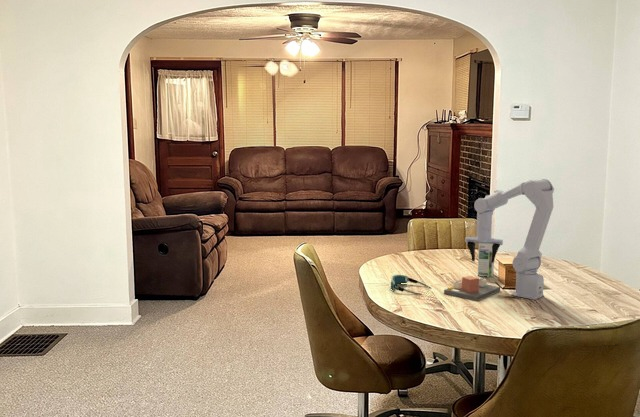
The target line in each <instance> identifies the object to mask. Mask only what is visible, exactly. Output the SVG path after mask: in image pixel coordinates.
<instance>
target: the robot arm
mask: <svg viewBox="0 0 640 417" xmlns="http://www.w3.org/2000/svg"><path fill="white" fill-rule="evenodd" d="M554 192H555V188H554V186H553V184H552V182H551V181H550V179H549V180H548V179H546V178H541V179H536V180H534V179H531V180H526V181H523V182H521V183H519V184H517V185H515V186H513V187H511V188H510V189H507V190H505V191H503V190H499V189H498V190H497V189H496V190H494V191H493V193H491V194H487V195H485V197H484V198H483V197H478V199H476V200H475V201H474V210H475V211H476V212H477V213H476V236H466V237H465V238H464V243H467V244H466V246H467V248H468V250H469V253H470V256H471V262H474V261H475V260H476V244H479V243H483V244H493V245H492V263H494V264H495V259H496V255H497V253H498V250H499V248H500V247H501V246H503V245H504V239H498V238H493V237H492V232H493V231H492V230H493V228H492V227H493V226H492V224H493V221H492V220H493V216H494V211H495V210H496V209H498V208H499V207H503V206H505V205H507V204H508V202H509V200H511V199H513V198H516V197H518V196H521V195H522V196H524V195H525V197H526V198H527V199H528V201H530V202H531V203H532V204H533V206H535V211H534V214H533V216H532V220H531V222H530V226H529V230H528V231H527V236H526V238H525V241H524V245H523V246H522V247H521V248H520V249H519V250H518V252H517V254H516V256H515V257H514V258H513V260H512V267H513V269H514V271H515V276H516V277H515V292H512V293H511V296H514V297H519V298H525V299H529V300H534V301H535V300H538V299H540V298H542V297H543V296H545V295H544V281H545V279H544V275H542V274H539V273H538V270H539V269H540V267H541V265H542V255H543V254H542V252H541V251H540V248H541V246H542V242H543V239H544V236H545V233H546V231H547V230H546V229H547V226H548V224H549V222H550V219H551V216H552V212H553V209H554V197H553V196H554V194H553V193H554Z"/></svg>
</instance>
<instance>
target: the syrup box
mask: <svg viewBox="0 0 640 417" xmlns="http://www.w3.org/2000/svg"><path fill="white" fill-rule="evenodd" d="M492 245H493V244H483V243H478V252H477V254H478V255H477V256H478V257H477V258H478V260H477V264H478V266H477V276H478V275H479V276H478V277H484V276H487V277H486V278H491V277H493V275H494V272H495V262H494V263H492Z"/></svg>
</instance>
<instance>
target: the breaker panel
mask: <svg viewBox="0 0 640 417" xmlns="http://www.w3.org/2000/svg"><path fill="white" fill-rule="evenodd" d="M500 291H501V286H496V285H493V284H492V285H491V284H487V285H486V286H484V287H481V286H479V291H478V292H472V293H469V292H466V291H463V290H462V288H460V289H456V288H453V286H447V288H446V289H444V290H443V294H444V295H449V296H453V297H458V298H463V299H466V300H473V301H480V300H482V299H484V298H487V297H489V296H491V295H494V294H496V293H499V292H500Z"/></svg>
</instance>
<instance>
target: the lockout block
mask: <svg viewBox="0 0 640 417" xmlns="http://www.w3.org/2000/svg"><path fill="white" fill-rule="evenodd" d="M479 279H480V278H478V277H476V276H474V275H469V276H462V278H461V281H462V290H463V291H466V292H469V293H472V292H478V291H479Z"/></svg>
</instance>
